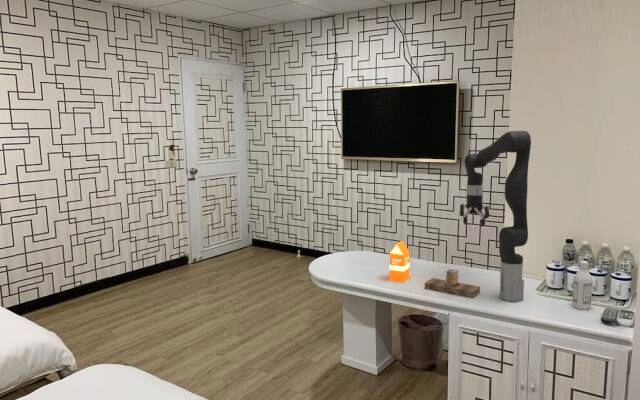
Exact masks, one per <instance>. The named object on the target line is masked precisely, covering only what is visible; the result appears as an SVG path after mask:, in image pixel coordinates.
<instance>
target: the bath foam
mask: <svg viewBox="0 0 640 400" xmlns="http://www.w3.org/2000/svg"><path fill="white" fill-rule="evenodd" d="M588 266H589V262H588V261H586V260H580V262H579V270H577V272H576V273H575V274H574V277H573V289H572V304H571V305H572V307H574V308H575V309H577V310H584V311H585V310H590V309H592V308H591V307H592V294H593V278H592V276H591V275H592V274H590V272H589V269H588V268H589V267H588Z"/></svg>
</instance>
